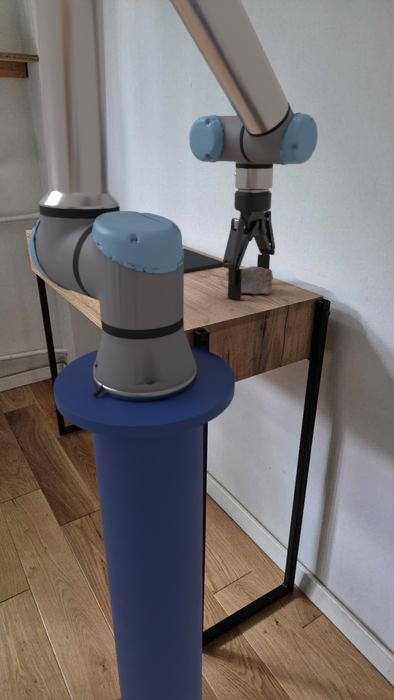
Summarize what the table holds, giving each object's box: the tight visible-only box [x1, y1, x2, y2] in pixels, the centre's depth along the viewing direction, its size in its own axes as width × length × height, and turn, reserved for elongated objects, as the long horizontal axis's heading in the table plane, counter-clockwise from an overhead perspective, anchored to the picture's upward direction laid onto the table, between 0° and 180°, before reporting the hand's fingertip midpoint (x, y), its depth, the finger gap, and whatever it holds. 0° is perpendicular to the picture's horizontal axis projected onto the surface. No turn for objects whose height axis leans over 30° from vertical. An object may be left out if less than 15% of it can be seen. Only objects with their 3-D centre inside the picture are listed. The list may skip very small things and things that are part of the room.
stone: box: [225, 265, 274, 295], centre depth 106 cm, size 10×8×6 cm
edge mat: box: [183, 247, 223, 274], centre depth 131 cm, size 20×14×1 cm
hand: (249, 290), depth 107 cm, fingers open, 13 cm apart
